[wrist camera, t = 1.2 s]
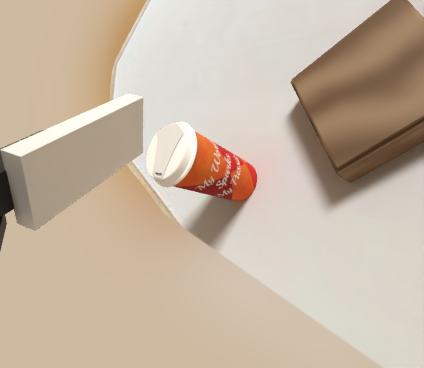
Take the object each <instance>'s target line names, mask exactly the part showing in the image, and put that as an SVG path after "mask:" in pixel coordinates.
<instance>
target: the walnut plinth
mask: <svg viewBox="0 0 424 368" xmlns="http://www.w3.org/2000/svg"><path fill="white" fill-rule="evenodd" d="M291 84H292V86H293V88H294V90H295V92H296V94H297V96H298V98H299V100H300V102H301V104H302V106H303V108H304V110H305V112H306V114H307V116H308V118H309V119H310V121H311V123H312V125H313V127H314V129H315V131H316V133H317V135H318V137H319V139H320V141H321V143H322V145H323V147H324V149H325V151H326V153H327V155H328V157H329V159H330V161H331V163H332V165H333V167H334V169H335V171H336V173H337V174H338V175H339V176H341V177H343V178H344V179H346V180H347V181H349V182H352V181H354V180H356V179H357V178H359V177H361V176H363V175H364V174H366V173H368V172H370V171H372V170H373V169H375V168H377V167H379V166H380V165H382V164H384V163H386V162H388V161H389V160H391V159H393V158H395V157H397V156H398V155H400V154H402V153H404V152H405V151H407V150H409V149H411V148H413V147H414V146H416V145H418V144H420V143H421V142H423V141H424V17H423V16H422V15H421V14H420V13H419V12H418V11H417V10H416V9H415V8H414V7H413V6H412V4H411V3H410V2H409V1H408V0H390V1H389V2H388V3H387V4H385V5H384V6H383V7H382V8H380V9H379V10H378V11H377V12H375V13H374V14H373V15H372V16H370V17H369V18H368V19H367V20H365V21H364V22H363V23H362V24H360V25H359V26H358V27H357V28H355V29H354V30H353V31H352V32H350V33H349V34H348V35H347V36H345V37H344V38H343V39H342V40H340V41H339V42H338V43H337V44H335V45H334V46H333V47H332V48H330V49H329V50H328V51H327V52H325V53H324V54H323V55H322V56H321V57H319V58H318V59H317V60H316V61H314V62H313V63H312V64H311V65H309V66H308V67H307V68H306V69H304V70H303V71H302V72H301V73H299V74H298V75H297V76H296V77H294V78H293V79H292V81H291Z"/></svg>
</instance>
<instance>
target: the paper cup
mask: <svg viewBox="0 0 424 368" xmlns="http://www.w3.org/2000/svg"><path fill="white" fill-rule="evenodd" d="M146 166H147V170H148V173H149V174H150V176H151V177H152V178H153V179H155V181H156V182H157V183H158V184H159V185H161V186H163V187H171V186H175V187H179V188H183V189H187V190H191V191H195V192H199V193H203V194H208V195H212V196H216V197H220V198H225V199H229V200H235V201H241V200H244V199H246V198H248V197H249V196H250V195H251V194H252V192H253V191H254V189H255V187H256V183H257V174H256V171H255V169H254V167H253V166H252V165H250V164H249V163H247V162H246V161H244V160H243V159H241V158H239V157H238V156H236V155H234V154H233V153H231V152H229V151H227V150H226V149H224V148H222V147H221V146H219V145H217V144H215V143H214V142H212V141H210V140H209V139H207V138H205V137H203V136H202V135H200V134H198V133H197V132H195V131H194V130H193V128H192V127H191V126H190V125H188V124H187V123H186V122H174V123H171V124H168V125H166V126H164V127H163V128H161V129H160V130H159V131H158V132H157V133H156V134H155V136H154V137H153V139H152V141H151V143H150V145H149V148H148V152H147V158H146Z"/></svg>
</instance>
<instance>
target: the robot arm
mask: <svg viewBox="0 0 424 368" xmlns="http://www.w3.org/2000/svg"><path fill="white" fill-rule="evenodd" d="M141 153H143V97H140V96H136V95H133V94H129V93H128V94H126V95H123V96H121V97H119V98H117V99H114V100H112V101H110V102H108V103H105V104H103V105H101V106H99V107H96V108H94V109H92V110H89V111H87V112H85V113H83V114H80V115H78V116H76V117H73V118H71V119H69V120H67V121H64V122H62V123H60V124H58V125H55V126H53V127H51V128H49V129H46V130H42V131H39V132H37V133H35V134H32V135H30V137H26V138H23V139H21V141H17V142H14V143H12V144H10V145H7V146H5V147H3V148H1V149H0V250H1V245H2V241H3V237H4V233H5V229H6V224H7V223H6V217H5V214H6V213H8V212H10V211H11V210H13V209H14V211H15V216H16V220H17V223H18V224H20V225H23V226H25V227H27V228H30V229H32V230H37V229H39V228H40V227H41V226H43V225H44V224H45V223H47V222H48V221H49V220H51V219H52V218H53V217H55V216H56V215H58V214H59V213H60V212H62V211H63V210H65V209H66V208H67V207H69V206H70V205H71V204H73V203H74V202H76V201H77V200H78V199H80V198H81V197H82V196H84V195H85V194H87V193H88V192H89V191H91V190H92V189H93V188H95V187H96V186H98V185H99V184H100V183H102V182H103V181H104V180H106V179H107V178H108V177H110V176H111V175H113V174H114V173H115V172H117V171H118V170H119V169H121V168H122V167H124V166H125V165H126V164H128V163H129V162H130V161H132V160H133V159H135V158H136V157H137V156H139V155H140V154H141Z"/></svg>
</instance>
